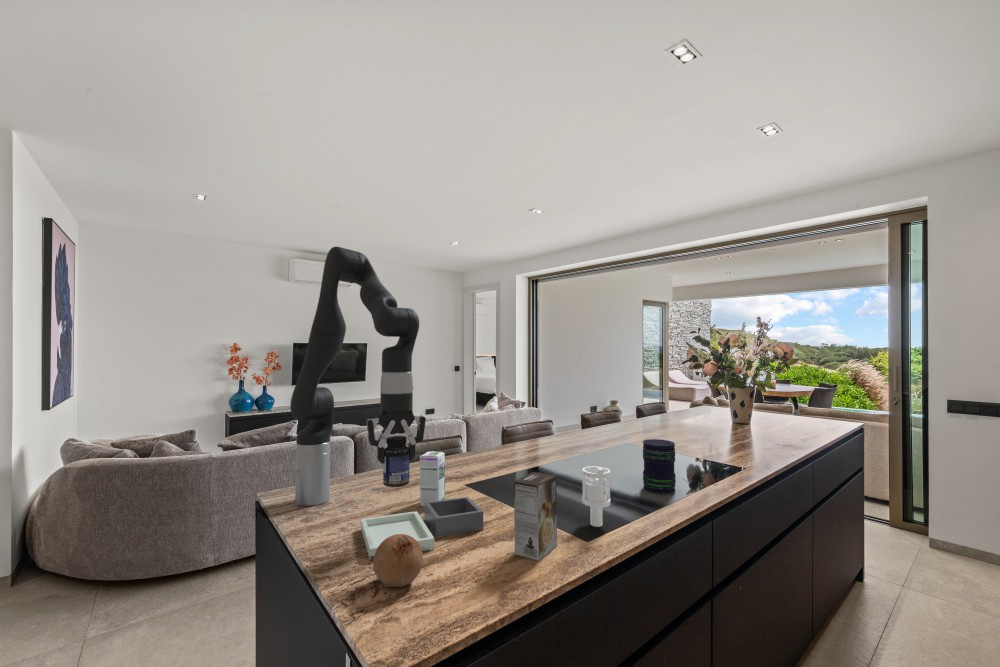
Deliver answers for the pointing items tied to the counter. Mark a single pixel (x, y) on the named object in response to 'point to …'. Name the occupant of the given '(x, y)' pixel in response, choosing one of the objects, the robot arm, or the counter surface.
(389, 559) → the onion
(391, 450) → the pill bottle
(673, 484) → the storage jar
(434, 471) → the syrup box
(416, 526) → the tray
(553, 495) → the coffee box
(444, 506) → the holder
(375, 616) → the counter surface
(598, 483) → the white cylindrical cage part
